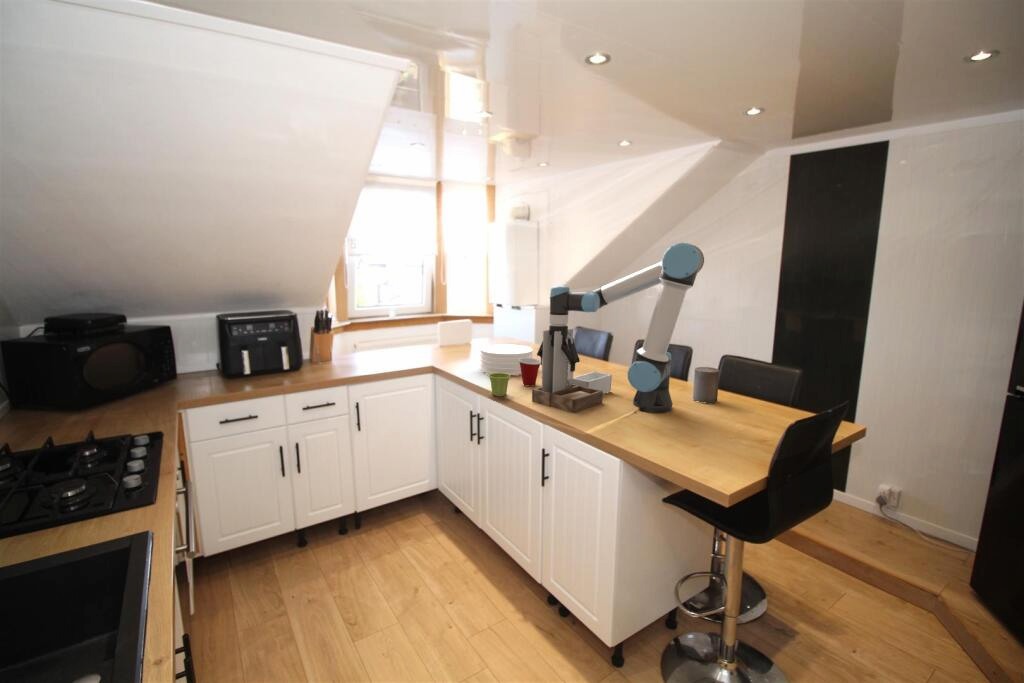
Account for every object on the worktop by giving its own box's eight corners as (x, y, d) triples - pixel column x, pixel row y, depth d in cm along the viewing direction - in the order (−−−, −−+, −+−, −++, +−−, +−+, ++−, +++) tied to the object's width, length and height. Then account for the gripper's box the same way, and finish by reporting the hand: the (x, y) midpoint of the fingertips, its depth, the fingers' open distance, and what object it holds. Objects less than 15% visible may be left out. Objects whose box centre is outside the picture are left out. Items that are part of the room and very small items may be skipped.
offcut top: (595, 399, 184) (595, 395, 183) (571, 406, 175) (571, 401, 174) (580, 395, 190) (580, 390, 189) (556, 400, 181) (556, 396, 180)
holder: (610, 392, 205) (611, 374, 204) (587, 400, 192) (588, 381, 191) (594, 388, 211) (595, 371, 210) (570, 396, 198) (571, 378, 197)
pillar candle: (720, 400, 195) (722, 365, 192) (713, 405, 187) (715, 369, 185) (696, 396, 201) (698, 362, 198) (689, 401, 193) (691, 366, 191)
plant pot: (487, 391, 203) (488, 372, 201) (509, 391, 204) (509, 372, 202) (489, 397, 193) (489, 377, 192) (511, 397, 194) (511, 377, 193)
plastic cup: (537, 388, 209) (538, 363, 207) (515, 386, 212) (515, 361, 210) (543, 383, 219) (544, 358, 217) (522, 381, 222) (522, 356, 220)
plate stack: (469, 369, 245) (469, 348, 243) (504, 362, 266) (504, 342, 264) (508, 378, 227) (509, 356, 225) (542, 369, 248) (543, 348, 246)
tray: (602, 405, 185) (602, 390, 184) (573, 415, 172) (574, 400, 171) (560, 394, 200) (561, 381, 199) (532, 403, 186) (532, 389, 185)
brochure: (552, 406, 182) (555, 332, 177) (541, 404, 186) (543, 330, 181) (570, 398, 193) (573, 328, 189) (559, 396, 197) (561, 327, 192)
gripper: (589, 327, 178) (587, 380, 182) (541, 321, 195) (539, 369, 199) (578, 328, 173) (576, 383, 177) (529, 322, 190) (528, 372, 194)
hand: (557, 376), depth 188 cm, fingers open, 13 cm apart
